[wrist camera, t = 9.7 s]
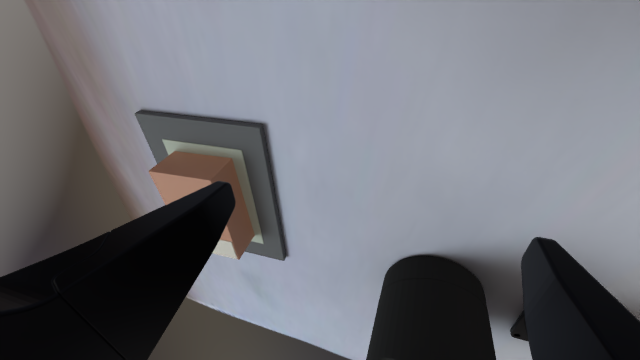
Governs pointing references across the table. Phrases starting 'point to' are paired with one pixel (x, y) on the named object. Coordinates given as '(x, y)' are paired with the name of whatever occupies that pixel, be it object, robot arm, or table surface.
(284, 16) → the table surface
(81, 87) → the table surface
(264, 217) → the mat
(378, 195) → the table surface
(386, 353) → the pen holder
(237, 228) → the block
